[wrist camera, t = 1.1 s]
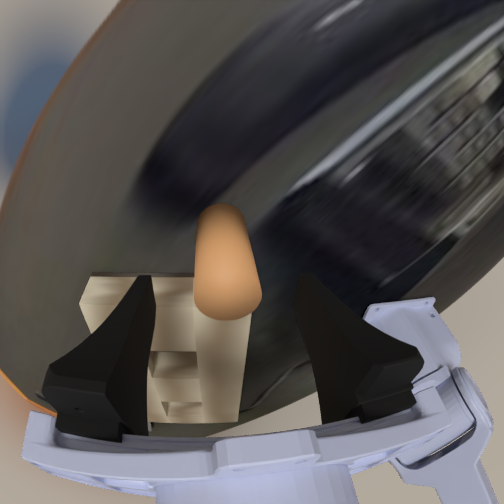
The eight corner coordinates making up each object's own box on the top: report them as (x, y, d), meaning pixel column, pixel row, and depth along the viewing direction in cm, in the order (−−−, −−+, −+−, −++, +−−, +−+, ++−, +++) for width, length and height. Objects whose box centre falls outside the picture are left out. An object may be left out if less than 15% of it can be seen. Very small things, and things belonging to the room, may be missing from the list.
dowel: (246, 203, 19) (265, 270, 13) (243, 245, 20) (258, 319, 15) (196, 203, 18) (192, 271, 12) (197, 245, 20) (195, 321, 14)
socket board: (246, 272, 22) (252, 305, 19) (234, 397, 33) (237, 421, 30) (92, 272, 20) (79, 303, 17) (139, 397, 31) (137, 420, 28)
